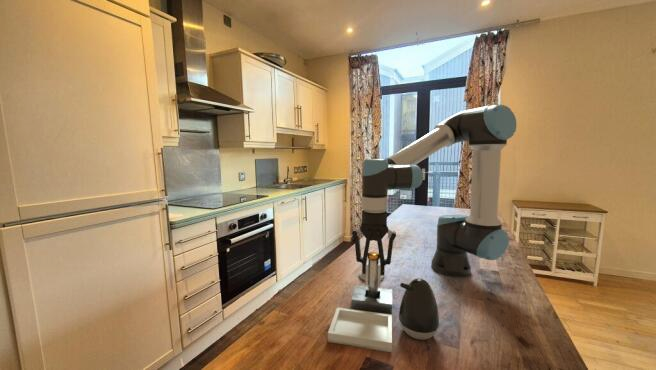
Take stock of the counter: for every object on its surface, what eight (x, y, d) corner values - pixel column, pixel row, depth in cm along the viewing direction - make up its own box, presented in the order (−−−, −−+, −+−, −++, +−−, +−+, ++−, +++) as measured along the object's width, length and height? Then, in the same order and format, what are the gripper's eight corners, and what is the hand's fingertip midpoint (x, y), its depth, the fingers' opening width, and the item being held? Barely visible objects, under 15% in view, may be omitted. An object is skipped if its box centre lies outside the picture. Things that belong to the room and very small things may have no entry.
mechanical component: (357, 281, 104) (384, 283, 102) (357, 270, 104) (384, 272, 102) (359, 270, 114) (384, 272, 112) (360, 260, 113) (384, 262, 111)
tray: (391, 322, 78) (391, 314, 78) (391, 352, 66) (391, 342, 66) (337, 315, 82) (337, 307, 81) (327, 341, 70) (327, 332, 70)
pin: (378, 304, 87) (379, 252, 85) (378, 310, 84) (379, 256, 82) (367, 303, 88) (368, 251, 86) (366, 309, 84) (367, 255, 82)
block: (391, 302, 89) (392, 289, 88) (391, 318, 80) (392, 304, 79) (355, 298, 91) (355, 285, 91) (351, 313, 83) (351, 299, 82)
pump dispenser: (392, 322, 78) (394, 271, 76) (427, 320, 79) (429, 270, 77) (405, 347, 68) (407, 289, 66) (445, 345, 69) (448, 288, 67)
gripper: (401, 208, 84) (399, 281, 87) (349, 206, 88) (349, 276, 90) (402, 214, 77) (400, 292, 79) (346, 211, 80) (345, 286, 83)
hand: (373, 283), depth 85 cm, fingers closed on pin, 3 cm apart
